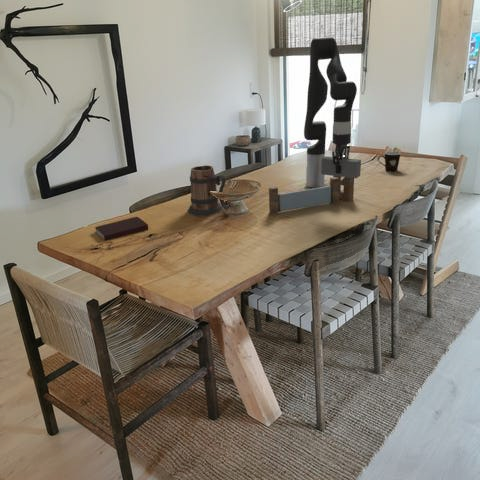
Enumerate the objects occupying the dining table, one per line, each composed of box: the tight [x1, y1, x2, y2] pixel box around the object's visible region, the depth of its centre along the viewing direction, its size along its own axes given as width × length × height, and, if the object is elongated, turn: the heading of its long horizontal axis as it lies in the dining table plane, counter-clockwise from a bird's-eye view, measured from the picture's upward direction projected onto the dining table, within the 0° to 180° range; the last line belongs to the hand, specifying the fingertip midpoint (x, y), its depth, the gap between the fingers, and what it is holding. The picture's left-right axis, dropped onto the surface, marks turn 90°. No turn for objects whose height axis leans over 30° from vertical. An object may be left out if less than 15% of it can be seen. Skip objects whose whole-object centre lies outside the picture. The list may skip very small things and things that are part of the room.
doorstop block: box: [321, 156, 362, 179], centre depth 204 cm, size 16×4×7 cm, turn 56°
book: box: [94, 216, 149, 241], centre depth 202 cm, size 12×19×3 cm, turn 124°
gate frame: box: [268, 176, 340, 216], centre depth 216 cm, size 3×34×12 cm, turn 111°
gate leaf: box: [278, 185, 331, 213], centre depth 217 cm, size 2×27×8 cm, turn 111°
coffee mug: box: [377, 151, 402, 173], centre depth 270 cm, size 12×9×10 cm
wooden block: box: [332, 176, 355, 202], centre depth 225 cm, size 4×11×18 cm, turn 40°
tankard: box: [187, 164, 231, 217], centre depth 218 cm, size 24×17×20 cm
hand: (340, 171), depth 204 cm, fingers closed on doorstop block, 4 cm apart
